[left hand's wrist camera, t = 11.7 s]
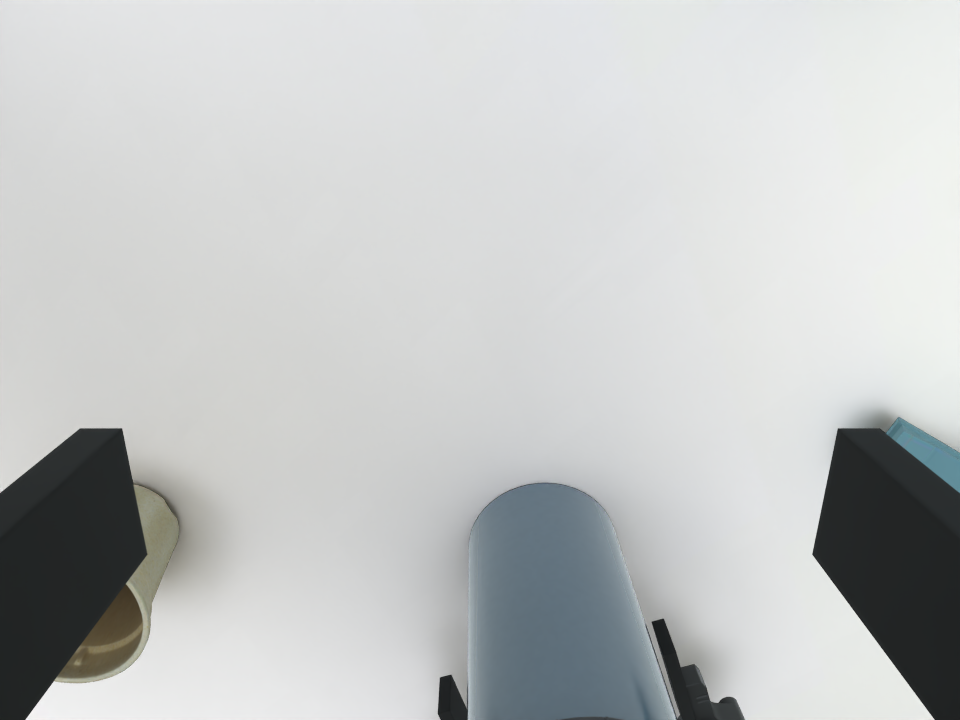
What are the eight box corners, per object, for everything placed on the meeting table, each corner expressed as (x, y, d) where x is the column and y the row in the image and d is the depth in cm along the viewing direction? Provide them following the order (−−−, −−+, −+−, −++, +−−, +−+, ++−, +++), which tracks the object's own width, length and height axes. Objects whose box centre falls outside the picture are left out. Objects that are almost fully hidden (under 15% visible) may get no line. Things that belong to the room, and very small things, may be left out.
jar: (439, 533, 45) (416, 820, 27) (563, 455, 43) (628, 709, 25) (523, 628, 48) (553, 945, 30) (643, 560, 46) (753, 855, 28)
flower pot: (192, 455, 43) (126, 538, 35) (218, 579, 46) (163, 681, 38) (42, 461, 43) (-59, 545, 35) (78, 584, 46) (-5, 687, 38)
